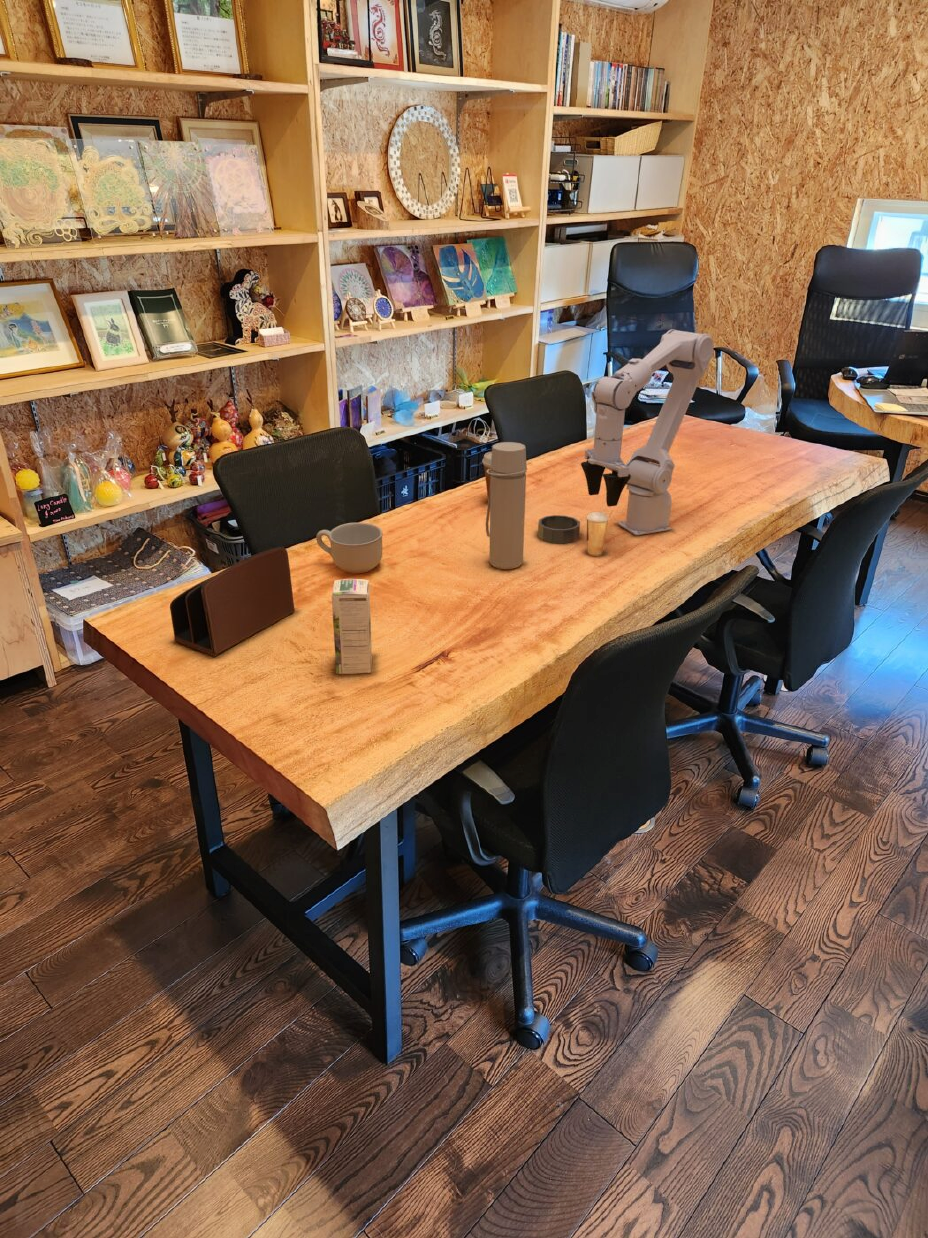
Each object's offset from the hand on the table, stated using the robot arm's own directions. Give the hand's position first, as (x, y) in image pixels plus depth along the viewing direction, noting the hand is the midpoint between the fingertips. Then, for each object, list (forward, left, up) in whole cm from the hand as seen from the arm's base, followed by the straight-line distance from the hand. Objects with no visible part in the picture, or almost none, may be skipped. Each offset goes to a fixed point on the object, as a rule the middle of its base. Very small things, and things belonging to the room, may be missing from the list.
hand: (602, 499), depth 177 cm
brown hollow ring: (+6, -8, -10) cm, 14 cm away
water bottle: (+24, +1, -11) cm, 26 cm away
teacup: (+54, -9, -11) cm, 55 cm away
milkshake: (+3, +4, -11) cm, 12 cm away
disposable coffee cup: (+9, -33, -11) cm, 36 cm away
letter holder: (+80, +9, -11) cm, 81 cm away
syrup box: (+64, +30, -11) cm, 71 cm away
